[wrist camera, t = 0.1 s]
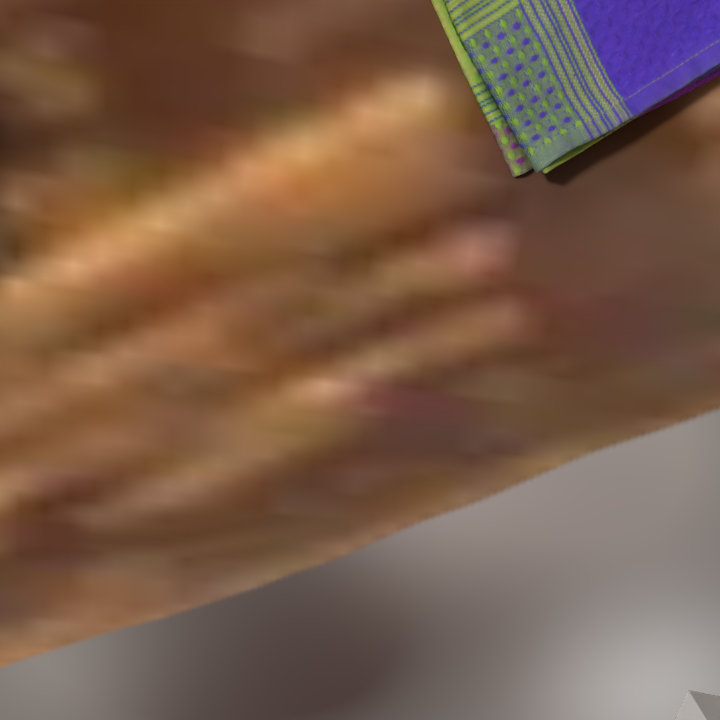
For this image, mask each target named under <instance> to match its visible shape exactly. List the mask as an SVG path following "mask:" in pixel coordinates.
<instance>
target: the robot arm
mask: <svg viewBox="0 0 720 720" xmlns="http://www.w3.org/2000/svg"><path fill="white" fill-rule="evenodd" d="M675 720H720V696H715V695H710V694H705V693H700V692H695V691H690V690H689V691H688V692H687V694H686V696H685V699H684V701H683V703H682V705H681V708H680V710H679V712H678V714H677V716H676V718H675Z"/></svg>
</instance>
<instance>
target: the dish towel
mask: <svg viewBox="0 0 720 720" xmlns="http://www.w3.org/2000/svg"><path fill="white" fill-rule="evenodd" d="M431 1H432V4H433V6H434V8H435V10H436V12H437V14H438V17H439V19H440V21H441V23H442V26H443V28H444V30H445V33H446V35H447V37H448V39H449V41H450V44H451V45H452V48H453V50H454V52H455V55H456V57H457V59H458V61H459V63H460V66H461V68H462V70H463V72H464V75H465V77H466V78H467V80H468V82H469V85H470V87H471V89H472V91H473V93H474V95H475V97H476V99H477V101H478V103H479V105H480V107H481V109H482V111H483V113H484V115H485V117H486V119H487V121H488V123H489V125H490V127H491V130H492V132H493V134H494V136H495V138H496V140H497V143H498V145H499V148H500V150H501V152H502V154H503V156H504V159H505V161H506V163H507V165H508V167H509V169H510V172H511V174H512V176H513V177H514V178H516V177H517V176H519V175H521V174H524V173H526V172H528V171H529V170H531V169H533V168H534V170H535V172H536V173H539V172H540V171H542V172H543V173H544V174H546V173H548V172H549V171H551V170H552V169H554V168H555V167H557V166H559V165H560V164H562V163H564V162H566V161H567V160H569V159H571V158H572V157H574V156H576V155H577V154H579V153H581V152H582V151H584V150H585V149H587V148H589V147H590V146H592V145H593V144H595V143H596V142H598V141H600V140H601V139H603V138H605V137H606V136H608V135H609V134H611V133H612V132H614V131H616V130H617V129H619V128H621V127H622V126H624V125H626V124H627V123H629V122H631V121H632V120H634V119H636V118H638V117H640V116H642V115H644V114H646V113H648V112H650V111H652V110H654V109H656V108H658V107H660V106H663V105H665V104H667V103H669V102H670V101H673V100H675V99H677V98H678V97H680V96H682V95H684V94H686V93H688V92H691V91H692V90H694V89H696V88H698V87H700V86H702V85H703V84H706V83H708V82H710V81H711V80H713V79H715V78H717V77H718V76H720V0H431Z"/></svg>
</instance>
